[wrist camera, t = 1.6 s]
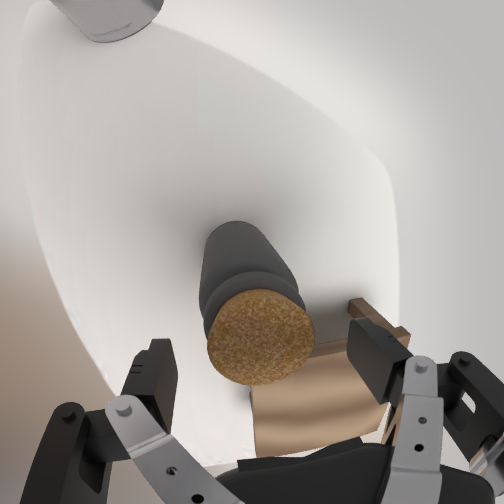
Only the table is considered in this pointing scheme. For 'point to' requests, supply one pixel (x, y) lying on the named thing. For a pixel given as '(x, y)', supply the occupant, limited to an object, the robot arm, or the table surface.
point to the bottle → (251, 308)
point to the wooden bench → (319, 398)
